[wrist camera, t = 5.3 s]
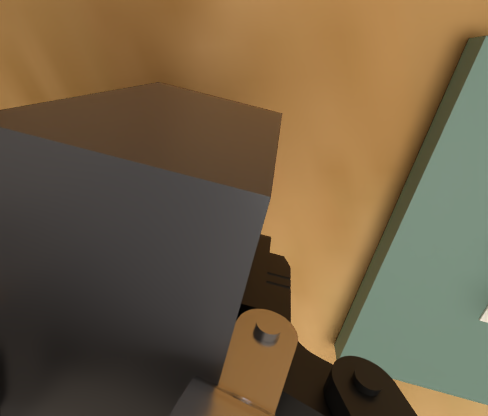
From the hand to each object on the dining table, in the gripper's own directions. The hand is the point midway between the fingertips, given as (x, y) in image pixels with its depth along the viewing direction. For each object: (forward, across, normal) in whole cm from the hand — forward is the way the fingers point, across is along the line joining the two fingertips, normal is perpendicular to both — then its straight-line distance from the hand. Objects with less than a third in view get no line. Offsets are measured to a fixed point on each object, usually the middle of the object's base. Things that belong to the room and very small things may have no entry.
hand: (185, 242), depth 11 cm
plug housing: (+1, 0, +2) cm, 2 cm away
